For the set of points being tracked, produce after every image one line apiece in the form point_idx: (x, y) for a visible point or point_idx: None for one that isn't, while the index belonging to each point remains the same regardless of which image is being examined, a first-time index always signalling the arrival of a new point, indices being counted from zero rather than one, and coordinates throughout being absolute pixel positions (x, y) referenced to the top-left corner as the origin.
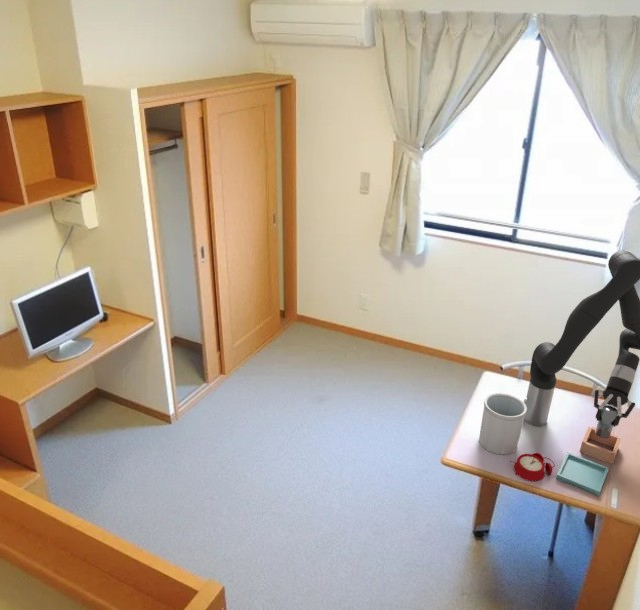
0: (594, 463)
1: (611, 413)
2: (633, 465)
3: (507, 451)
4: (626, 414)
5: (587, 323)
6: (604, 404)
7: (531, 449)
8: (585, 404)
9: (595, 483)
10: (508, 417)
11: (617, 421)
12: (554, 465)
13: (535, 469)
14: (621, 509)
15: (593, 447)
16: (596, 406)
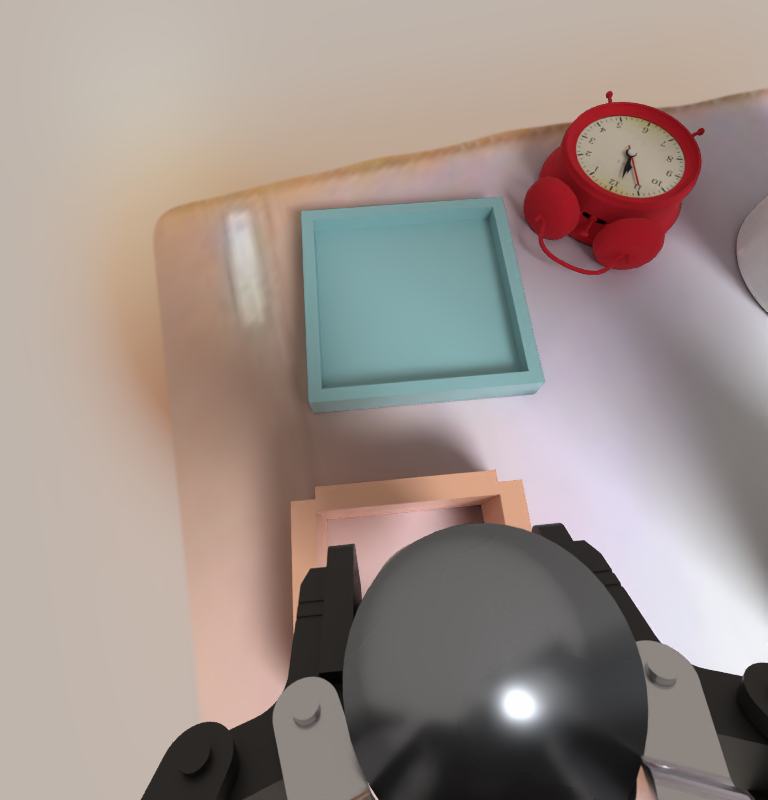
0: (385, 386)
1: (431, 547)
2: (193, 583)
3: (758, 206)
4: (181, 772)
5: None
6: (672, 771)
7: (691, 329)
8: None
9: (338, 278)
10: None
11: (319, 610)
12: (541, 243)
13: (590, 136)
14: (204, 220)
15: (437, 476)
16: (731, 683)
